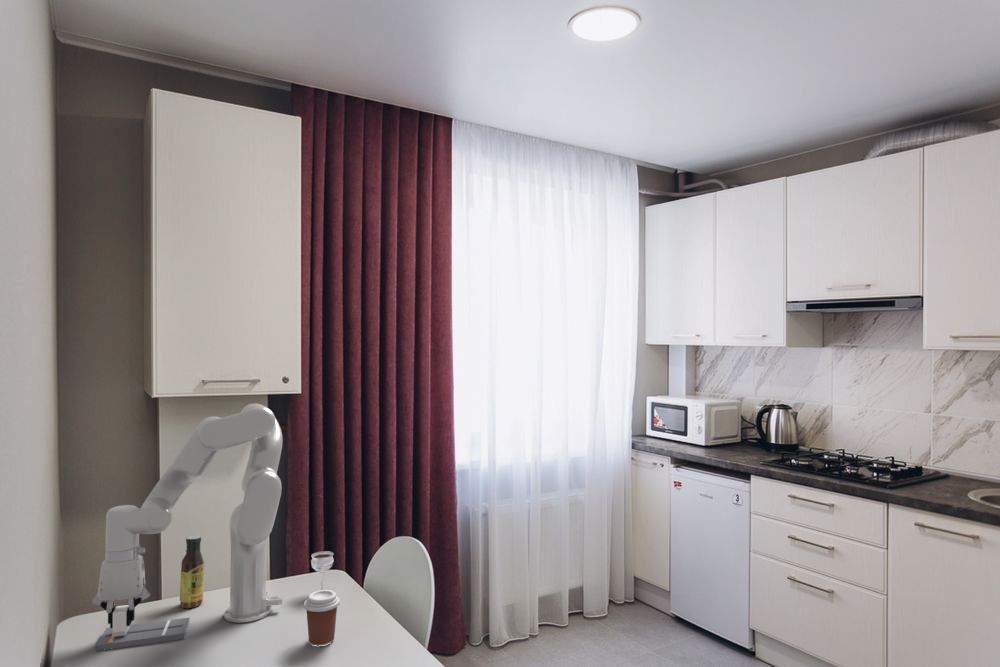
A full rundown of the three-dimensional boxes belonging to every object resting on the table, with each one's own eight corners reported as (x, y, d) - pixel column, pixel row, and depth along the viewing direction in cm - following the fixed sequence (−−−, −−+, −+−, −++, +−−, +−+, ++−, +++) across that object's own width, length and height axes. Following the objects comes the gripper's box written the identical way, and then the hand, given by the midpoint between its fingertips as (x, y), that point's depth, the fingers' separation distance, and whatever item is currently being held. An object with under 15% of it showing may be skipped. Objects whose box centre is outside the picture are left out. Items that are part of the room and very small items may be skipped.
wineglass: (306, 597, 189) (307, 557, 189) (316, 588, 196) (317, 550, 196) (327, 598, 188) (327, 559, 188) (337, 590, 195) (337, 551, 195)
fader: (129, 626, 165) (130, 604, 165) (125, 635, 160) (125, 611, 160) (116, 628, 164) (117, 605, 164) (112, 637, 159) (112, 613, 159)
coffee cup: (301, 636, 164) (302, 591, 164) (336, 630, 167) (337, 586, 167) (305, 652, 155) (305, 604, 155) (342, 645, 159) (342, 598, 159)
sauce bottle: (193, 610, 180) (194, 541, 180) (174, 608, 181) (175, 540, 181) (208, 601, 186) (209, 534, 186) (190, 599, 187) (191, 533, 188)
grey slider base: (189, 622, 172) (189, 617, 172) (184, 639, 162) (184, 632, 162) (106, 633, 165) (106, 627, 165) (95, 651, 155) (95, 644, 155)
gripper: (160, 546, 168) (159, 614, 168) (90, 553, 163) (89, 623, 163) (154, 555, 161) (153, 626, 161) (81, 562, 156) (80, 636, 155)
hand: (121, 624), depth 162 cm, fingers closed on fader, 3 cm apart
